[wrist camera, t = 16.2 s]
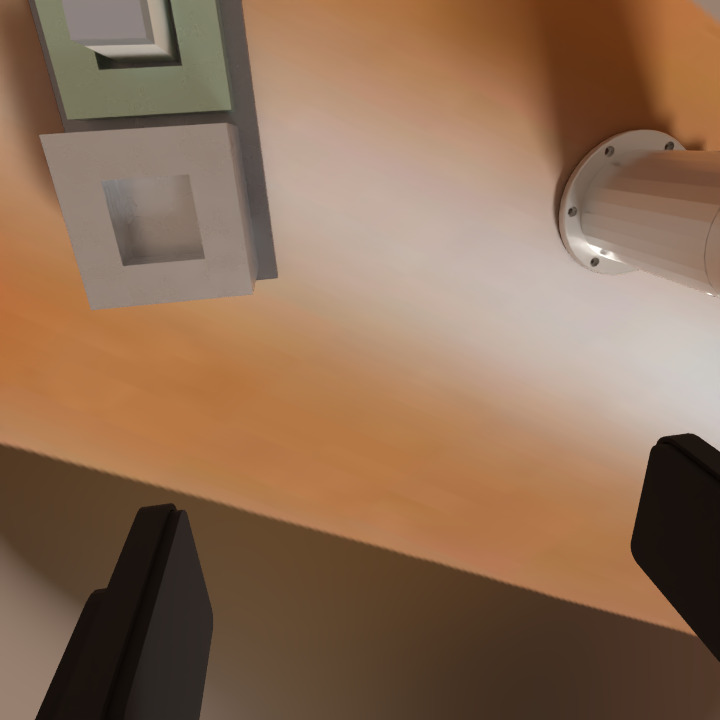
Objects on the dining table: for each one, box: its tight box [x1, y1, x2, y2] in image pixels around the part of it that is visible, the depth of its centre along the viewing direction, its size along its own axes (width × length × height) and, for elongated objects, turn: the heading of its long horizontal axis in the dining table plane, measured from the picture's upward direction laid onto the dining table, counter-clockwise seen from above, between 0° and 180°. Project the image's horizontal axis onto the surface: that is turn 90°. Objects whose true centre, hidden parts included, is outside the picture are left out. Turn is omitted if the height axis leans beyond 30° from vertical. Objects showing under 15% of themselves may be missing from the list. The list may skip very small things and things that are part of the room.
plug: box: [61, 0, 178, 63], centre depth 31 cm, size 4×4×9 cm
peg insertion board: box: [28, 0, 278, 310], centre depth 34 cm, size 14×25×9 cm, turn 3°
